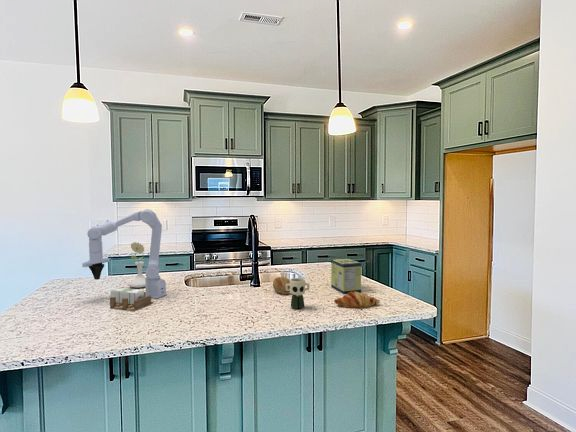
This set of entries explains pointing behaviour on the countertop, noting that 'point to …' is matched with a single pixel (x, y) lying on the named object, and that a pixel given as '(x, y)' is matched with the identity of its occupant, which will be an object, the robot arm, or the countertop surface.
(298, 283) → the character mug
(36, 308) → the countertop surface
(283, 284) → the bread roll
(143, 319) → the countertop surface
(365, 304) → the croissant
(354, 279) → the protein box
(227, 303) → the countertop surface
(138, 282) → the flower in vase
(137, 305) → the rest
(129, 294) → the syrup box
